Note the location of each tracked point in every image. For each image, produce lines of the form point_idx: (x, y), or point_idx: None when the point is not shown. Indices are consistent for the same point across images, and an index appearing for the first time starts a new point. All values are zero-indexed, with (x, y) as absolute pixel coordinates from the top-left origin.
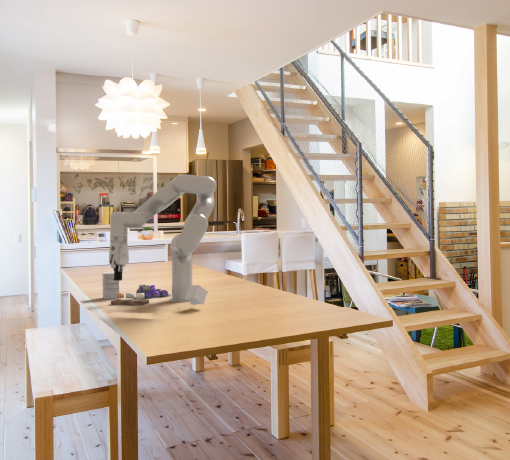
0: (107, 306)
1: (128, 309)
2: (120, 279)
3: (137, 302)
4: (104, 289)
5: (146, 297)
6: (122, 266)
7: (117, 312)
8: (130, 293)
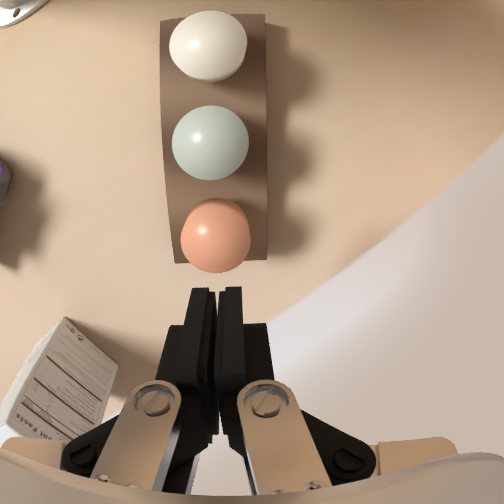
0: (337, 229)
1: (419, 59)
2: (241, 290)
3: (265, 54)
4: (104, 402)
5: (6, 170)
6: (133, 461)
7: (485, 92)
8: (216, 134)
